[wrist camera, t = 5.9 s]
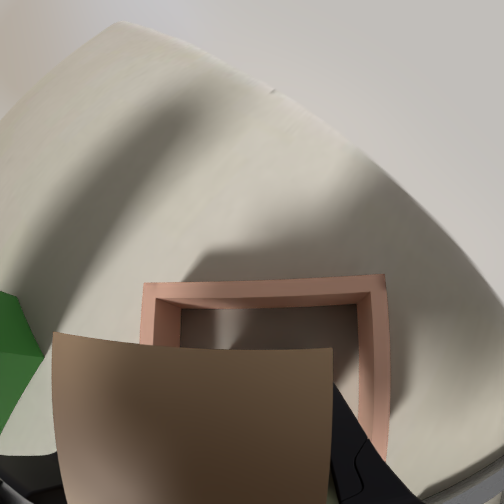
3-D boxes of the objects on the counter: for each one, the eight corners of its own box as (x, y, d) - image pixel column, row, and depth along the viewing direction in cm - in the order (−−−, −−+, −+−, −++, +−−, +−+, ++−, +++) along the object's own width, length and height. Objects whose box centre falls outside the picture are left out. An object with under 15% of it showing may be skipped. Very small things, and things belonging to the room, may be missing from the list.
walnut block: (305, 425, 14) (311, 589, 2) (227, 423, 15) (77, 534, 2) (306, 349, 15) (333, 346, 3) (227, 350, 16) (52, 331, 4)
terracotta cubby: (369, 442, 13) (385, 462, 10) (168, 438, 15) (141, 452, 11) (368, 289, 16) (384, 273, 13) (170, 295, 18) (143, 282, 14)
